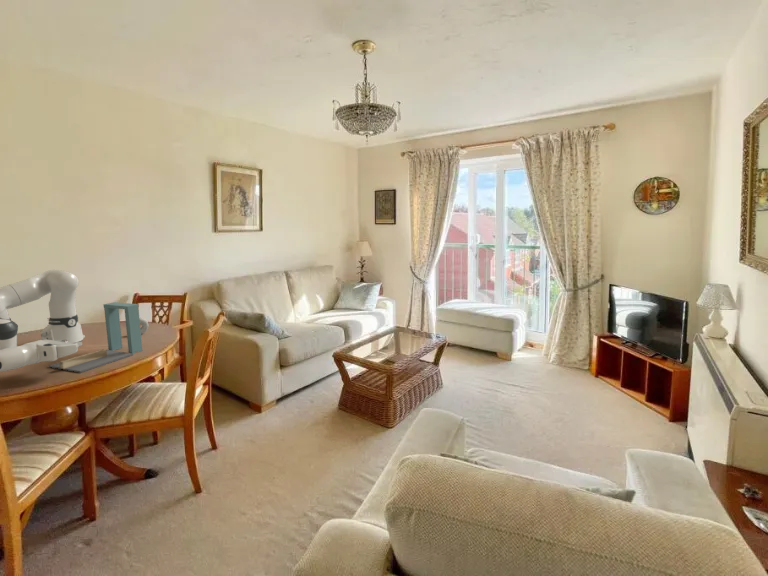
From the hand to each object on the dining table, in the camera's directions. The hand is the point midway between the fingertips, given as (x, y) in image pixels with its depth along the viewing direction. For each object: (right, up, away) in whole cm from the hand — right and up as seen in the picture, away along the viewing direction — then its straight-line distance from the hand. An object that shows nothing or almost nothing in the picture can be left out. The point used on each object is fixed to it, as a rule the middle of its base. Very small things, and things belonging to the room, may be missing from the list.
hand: (73, 342), depth 176 cm
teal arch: (+7, -8, +24) cm, 26 cm away
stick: (+1, -10, +5) cm, 11 cm away
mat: (+2, -10, +9) cm, 13 cm away
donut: (-4, -3, +54) cm, 54 cm away
